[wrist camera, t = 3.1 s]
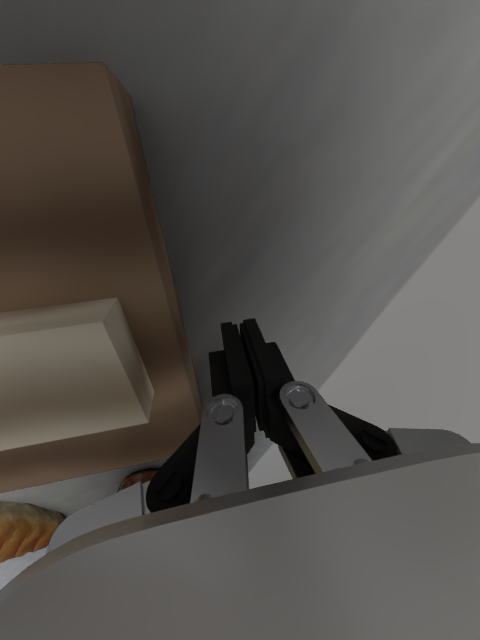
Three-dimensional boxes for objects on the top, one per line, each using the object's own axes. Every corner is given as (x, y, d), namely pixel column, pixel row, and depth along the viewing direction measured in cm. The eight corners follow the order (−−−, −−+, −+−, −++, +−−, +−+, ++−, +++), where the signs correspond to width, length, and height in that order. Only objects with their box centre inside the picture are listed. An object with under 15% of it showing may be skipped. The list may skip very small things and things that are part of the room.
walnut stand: (-324, 111, 7) (-588, 78, 5) (129, 94, 9) (104, 62, 6) (26, 449, 18) (0, 493, 16) (205, 415, 20) (206, 450, 17)
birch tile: (-95, 325, 9) (-159, 358, 7) (117, 297, 10) (102, 321, 8) (0, 418, 12) (-30, 456, 11) (154, 391, 13) (148, 422, 11)
